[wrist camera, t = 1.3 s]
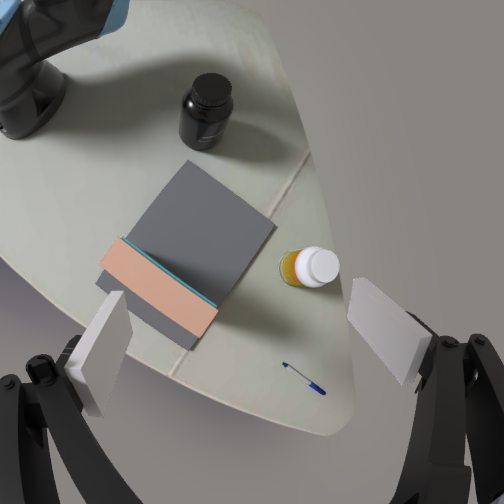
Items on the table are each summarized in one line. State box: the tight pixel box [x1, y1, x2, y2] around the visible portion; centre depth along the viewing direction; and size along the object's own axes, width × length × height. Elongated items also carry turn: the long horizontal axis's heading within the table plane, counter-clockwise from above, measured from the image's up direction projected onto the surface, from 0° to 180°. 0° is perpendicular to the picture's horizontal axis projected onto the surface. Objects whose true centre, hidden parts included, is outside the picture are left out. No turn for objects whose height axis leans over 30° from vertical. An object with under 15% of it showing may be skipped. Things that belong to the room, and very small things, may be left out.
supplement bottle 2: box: [278, 246, 339, 288], centre depth 37 cm, size 5×5×10 cm
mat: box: [95, 160, 275, 351], centre depth 38 cm, size 22×16×1 cm
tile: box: [99, 237, 219, 338], centre depth 30 cm, size 3×11×14 cm, turn 55°
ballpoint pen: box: [283, 362, 326, 395], centre depth 41 cm, size 10×1×1 cm, turn 50°
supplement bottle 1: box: [179, 73, 233, 150], centre depth 34 cm, size 7×7×12 cm
